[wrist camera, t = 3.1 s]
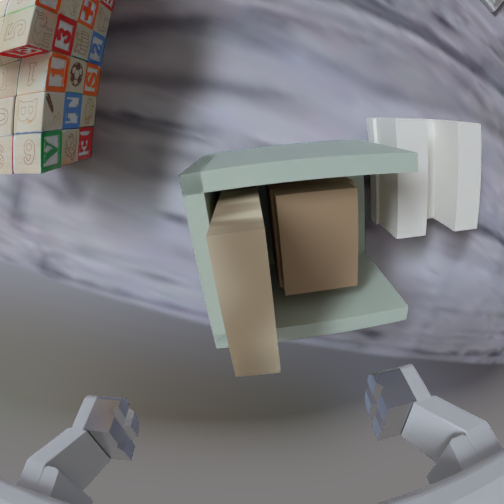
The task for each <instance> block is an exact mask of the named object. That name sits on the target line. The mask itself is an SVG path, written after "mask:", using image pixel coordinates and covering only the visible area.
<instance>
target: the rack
mask: <svg viewBox="0 0 504 504" xmlns="http://www.w3.org/2000/svg"><path fill="white" fill-rule="evenodd" d="M408 172H418V153H417V152H413V151H409V150H405V149H400V148H396V147H392V146H387V145H382V144H378V143H373V142H368V141H363V140H337V141H321V142H308V143H296V144H286V145H276V146H267V147H258V148H250V149H242V150H235V151H228V152H221V153H214V154H208V155H204V156H203V157H201V158H200V159H199V160H197V161H196V162H195V163H194V164H192V165H191V166H190V167H189V168H187V169H186V170H185V171H184V172H182V173H181V174H180V175H179V178H180V183H181V189H182V194H183V199H184V205H185V210H186V215H187V220H188V225H189V230H190V235H191V240H192V245H193V250H194V254H195V259H196V264H197V268H198V273H199V277H200V282H201V286H202V290H203V295H204V299H205V303H206V308H207V312H208V316H209V320H210V324H211V328H212V332H213V336H214V340H215V344H216V348H225V347H229V345H228V341H227V336H226V332H225V327H224V323H223V318H222V313H221V309H220V304H219V299H218V294H217V290H216V285H215V280H214V275H213V270H212V265H211V260H210V255H209V249H208V244H207V239H206V235H207V232H208V229H209V226H210V223H211V220H212V217H213V214H214V211H215V208H216V205H217V202H218V199H219V196H220V193H221V190H227V189H234V188H242V187H249V186H257V189H258V195H259V200H260V205H261V211H262V216H263V221H264V227H265V234H266V243H267V251H268V260H269V268H270V277H271V286H272V295H273V304H274V313H275V322H276V332H277V341H278V342H280V341H288V340H295V339H303V338H309V337H316V336H322V335H329V334H335V333H341V332H346V331H352V330H358V329H363V328H368V327H373V326H378V325H383V324H388V323H393V322H398V321H402V320H406V318H407V312H408V305H407V304H406V303H405V301H404V300H403V299H402V297H401V296H400V295H399V294H398V292H397V291H396V290H395V289H394V287H393V286H392V285H391V283H390V282H389V281H388V280H387V278H386V277H385V276H384V275H383V274H382V272H381V271H380V270H379V269H378V267H377V266H376V265H375V264H374V263H373V261H372V260H371V259H370V258H369V257H368V255H367V254H366V253H365V200H364V175H372V174H388V173H408Z"/></svg>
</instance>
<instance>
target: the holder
mask: <svg viewBox="0 0 504 504" xmlns="http://www.w3.org/2000/svg"><path fill="white" fill-rule="evenodd" d="M366 120H367V132H368V142H373V143H378V144H382V145H387V146H392V147H396V148H400V149H405V150H409V151H413V152H417V153H418V172H408V173H388V174H372V175H370V192H371V220H372V221H373V222H374V223H375V224H380V225H381V226H382V227H383V228H384V229H386V230H387V231H388V232H389V233H390V234H391V235H393V236H394V237H395V238H396V239H402V238H409V237H417V236H424V235H426V223H427V219H429V218H434V219H436V220H437V221H439V222H440V223H442V224H444V225H445V226H447V227H448V228H450V229H451V230H453V231H462V230H469V229H477V222H478V212H479V200H480V183H481V124H479V123H470V122H461V121H451V120H436V119H416V118H366Z"/></svg>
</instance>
